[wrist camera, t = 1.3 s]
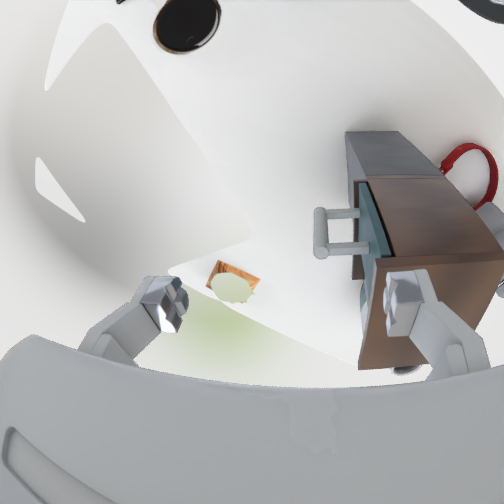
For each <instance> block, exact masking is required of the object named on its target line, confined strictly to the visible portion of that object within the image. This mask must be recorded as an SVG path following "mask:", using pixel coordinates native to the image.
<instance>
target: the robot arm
mask: <svg viewBox="0 0 504 504" xmlns="http://www.w3.org/2000/svg"><path fill="white" fill-rule="evenodd" d="M489 1H490V2H492V3H495V4H500V5H504V0H489ZM386 283H387V286H386V287H385V288H384V294H383V307H384V313H385V314H386V315H387V320H386V327H387V334H388V337H397V336H409V338H410V339H411V340H412V341H413V343H414V344H415V345H416V347H417V348H418V349H419V350H420V352H421V353H422V354H423V356H424V357H425V358H426V360H427V361H428V362H429V364H430V365H431V366H432V367H433V370H432V371H431V373H430V374H429V376H428V377H427V379H426V380H425V381H421V382H413V383H405V384H396V385H385V386H371V387H350V388H293V387H273V386H260V385H247V384H236V383H228V382H220V381H212V380H205V379H198V378H192V377H186V376H180V375H174V374H169V373H164V372H159V371H154V370H150V369H145V368H141V367H139V366H138V365H137V364H136V363H135V361H133V359H134V358H135V357H136V356H137V355H138V354H139V353H140V352H141V351H142V350H143V349H144V348H145V347H146V346H147V345H148V344H149V343H150V342H151V341H152V340H154V338H156V337H157V336H158V335H159V334H160V333H161V332H162V331H163V332H173V333H177V332H178V330H179V328H180V325H181V323H182V317H181V316H182V315H183V314H185V313H186V312H187V309H188V305H189V298H188V294H187V292H186V291H185V290H184V289H183V288H181V285H182V282H181V280H180V278H179V277H173V276H169V277H168V276H147V277H145V278H144V280H143V282H142V283H141V285H140V287H139V288H138V290H137V291H136V293H135V295H134V296H133V298H132V300H131V301H130V302H127V303H125V304H124V305H122V306H121V307H120V308H118V309H117V310H115V311H114V312H113V313H111V314H110V315H108V316H107V317H106V318H104V319H103V320H102V321H100V322H99V323H97V324H96V325H95V326H94V327H92V328H91V329H89V331H88V332H87V334H86V336H85V338H84V339H83V341H82V343H81V344H80V346H79V348H78V350H76V349H73V348H70V347H67V346H64V345H61V344H58V343H56V342H53V341H50V340H47V339H45V338H43V337H40V336H37V335H30V336H28V337H26V338H24V339H23V340H21V341H20V342H19V343H17V344H16V345H15V346H13V347H12V348H11V349H10V350H9V351H8V352H7V353H6V354H5V356H4V357H3V358H2V360H1V361H0V504H504V365H500V366H496V367H493V368H491V366H490V362H489V359H488V355H487V351H486V348H485V345H484V341H483V338H482V337H481V336H479V335H478V334H477V333H476V332H475V331H474V330H473V329H472V328H471V327H470V326H469V325H468V324H467V323H466V322H464V321H463V320H462V319H461V318H460V317H459V316H458V315H457V314H456V313H454V312H453V311H452V310H451V309H450V308H449V307H448V306H446V305H445V304H444V303H443V302H442V301H440V302H438V299H437V296H436V294H435V291H434V288H433V285H432V282H431V280H430V277H429V274H428V272H427V270H426V269H417V270H404V271H388V273H387V276H386ZM160 331H161V332H160Z"/></svg>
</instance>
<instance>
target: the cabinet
mask: <svg viewBox="0 0 504 504" xmlns="http://www.w3.org/2000/svg"><path fill="white" fill-rule="evenodd" d="M345 140H346V153H347V169H348V191H349V205H350V209H352V208H359V183H366V185H367V187H368V190H369V192H370V195H371V197H372V200H373V203H374V205H375V208H376V211H377V213H378V216H379V219H380V222H381V225H382V227H383V230H384V233H385V236H386V239H387V242H388V246H389V249H390V252H391V258H375V261H374V270H373V278H372V286H371V293H370V300H368V293H367V286H366V280H365V273H364V267H363V262H362V256H361V254H358V255H353V262H352V280H359V279H364V285H365V292H366V299H367V307H368V313H367V319H366V325H365V330H364V336H363V341H362V346H361V350H360V355H359V360H358V370H368V369H382V368H395V367H405V366H414V365H422V364H429V362H428V361H427V360H426V358H425V357H424V356H423V354H422V353H421V352H420V350H419V349H418V348H417V347H416V345H415V344H414V343H413V341H412V340H411V339H410V338H409V336H397V337H388V334H387V327H386V320H387V315H386V314H385V313H384V307H383V294H384V288H385V287H386V286H387V283H386V276H387V273H388V271H404V270H417V269H426V270H427V272H428V274H429V277H430V280H431V282H432V285H433V288H434V291H435V294H436V296H437V299H438V302H440V301H442V302H443V303H444V304H445V305H446V306H448V307H449V308H450V309H451V310H452V311H453V312H454V313H456V314H457V315H458V316H459V317H460V318H461V319H462V320H463V321H464V322H466V323H467V324H468V325H469V326H470V327H471V328H472V329H473V330H474V331H475V329H476V327H477V325H478V324H479V322H480V320H481V319H482V317H483V315H484V313H485V311H486V309H487V307H488V305H489V304H490V302H491V299H492V298H493V296H494V294H495V291H496V289H497V287H498V285H499V283H500V281H501V278H502V276H503V274H504V250H503V249H502V247H501V246H500V244H499V243H498V241H497V240H496V238H495V237H494V235H493V234H492V233H491V231H490V230H489V229H488V227H487V226H486V224H485V223H484V222H483V220H482V219H481V218H480V217H479V215H478V214H477V213H476V211H475V210H474V209H473V208H472V206H471V205H470V204H469V203H468V202H467V200H466V199H465V198H464V197H463V196H462V195H461V193H460V192H459V191H458V190H457V189H456V188H455V187H454V185H453V184H452V183H451V182H450V181H449V180H448V179H447V178H446V177H445V176H444V175H443V174H442V173H441V172H440V171H439V170H438V168H437V167H436V166H435V165H434V164H433V163H432V162H431V161H430V160H429V159H428V158H427V157H425V156H424V155H423V154H422V153H421V152H420V151H419V150H418V149H417V148H416V147H415V146H414V145H413V144H412V143H411V142H409V141H408V140H407V139H406V138H405V137H404V136H403V135H402V134H400V133H399V132H389V131H371V132H345ZM358 231H359V218H353V242H359V240H358Z"/></svg>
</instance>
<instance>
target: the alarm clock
mask: <svg viewBox="0 0 504 504" xmlns="http://www.w3.org/2000/svg"><path fill="white" fill-rule="evenodd" d="M476 213H477V214H478V215H479V217H480V218H481V219H482V220H483V222H484V223H485V224H486V226H487V227H488V229H489V230H490V231H491V233H492V234H493V235H494V237H495V238H496V240H497V241H498V243H499V244H500V246H501V247H502V249H503V250H504V213H503V212H502V211H501V210H500V209H499V208H498V207H497V206H496V205H494V204H493V203H491V202H486V203H485V204H483V205H482V206H481V207H480V208H479V209H477V210H476ZM503 281H504V274H503V276H502V278H501V281H500V283H502V282H503ZM500 283H499V284H500ZM496 293H497V294H498V296H499V297H502V298H504V283H503V284H501V285H500V286H499V287H498V288H497V289H496Z"/></svg>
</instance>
